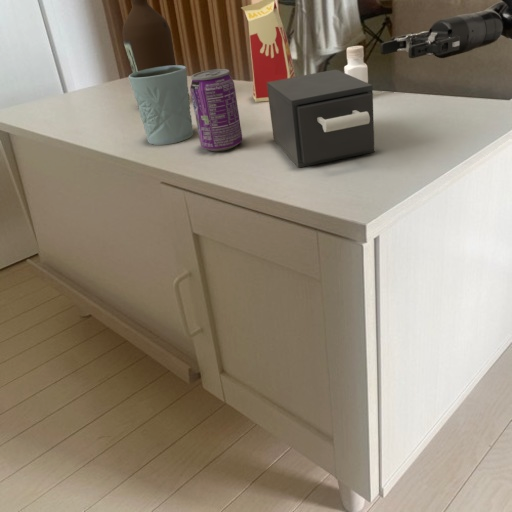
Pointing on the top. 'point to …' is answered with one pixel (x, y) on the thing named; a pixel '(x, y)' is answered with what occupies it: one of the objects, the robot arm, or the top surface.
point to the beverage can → (216, 109)
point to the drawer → (335, 127)
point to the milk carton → (267, 47)
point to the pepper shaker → (356, 63)
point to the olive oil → (147, 38)
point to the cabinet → (303, 92)
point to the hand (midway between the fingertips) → (395, 50)
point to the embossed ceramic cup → (163, 103)
